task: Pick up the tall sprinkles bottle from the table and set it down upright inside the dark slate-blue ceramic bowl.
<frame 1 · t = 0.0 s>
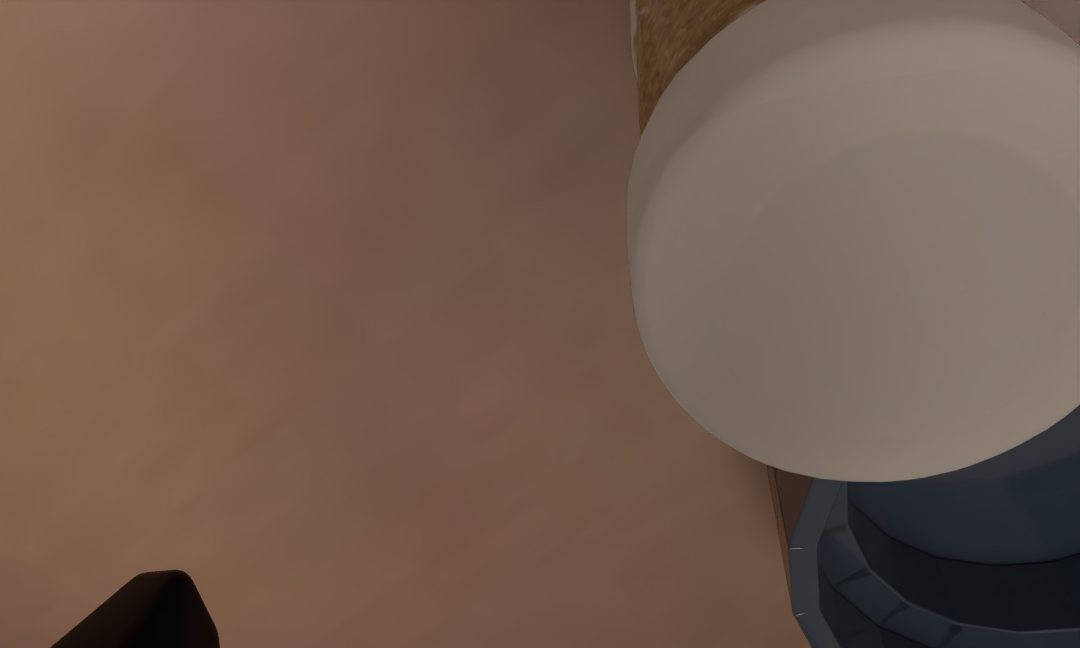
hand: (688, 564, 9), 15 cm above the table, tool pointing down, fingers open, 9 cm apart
bowl: (1026, 406, 25), on the table
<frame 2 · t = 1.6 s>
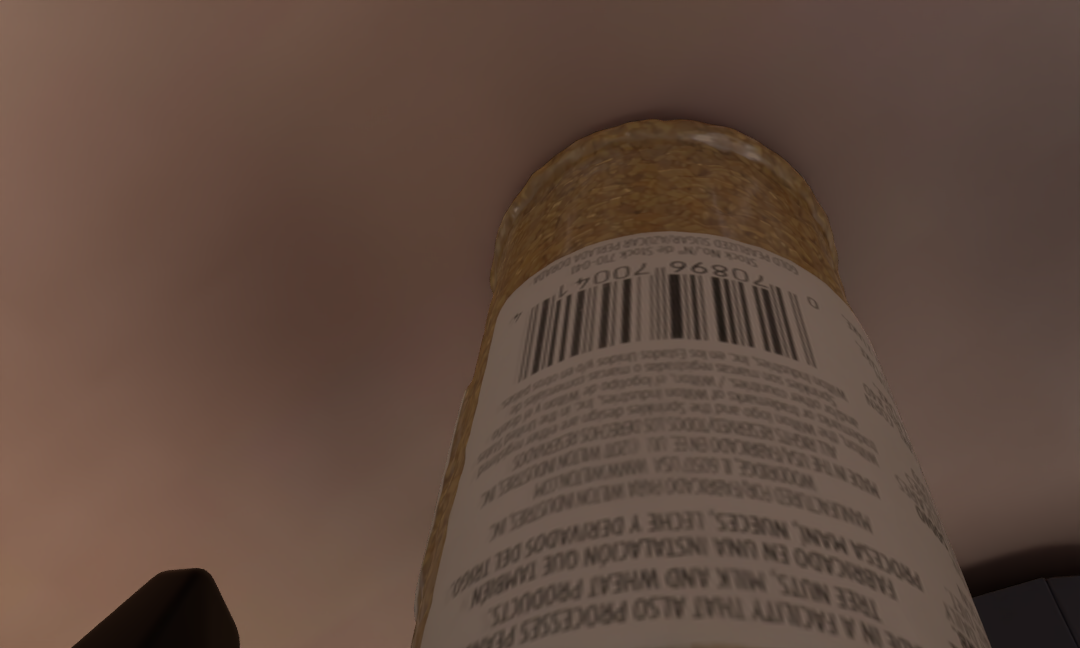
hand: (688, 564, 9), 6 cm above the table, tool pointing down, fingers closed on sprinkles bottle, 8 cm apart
sprinkles bottle: (664, 261, 14), on the table, touching gripper
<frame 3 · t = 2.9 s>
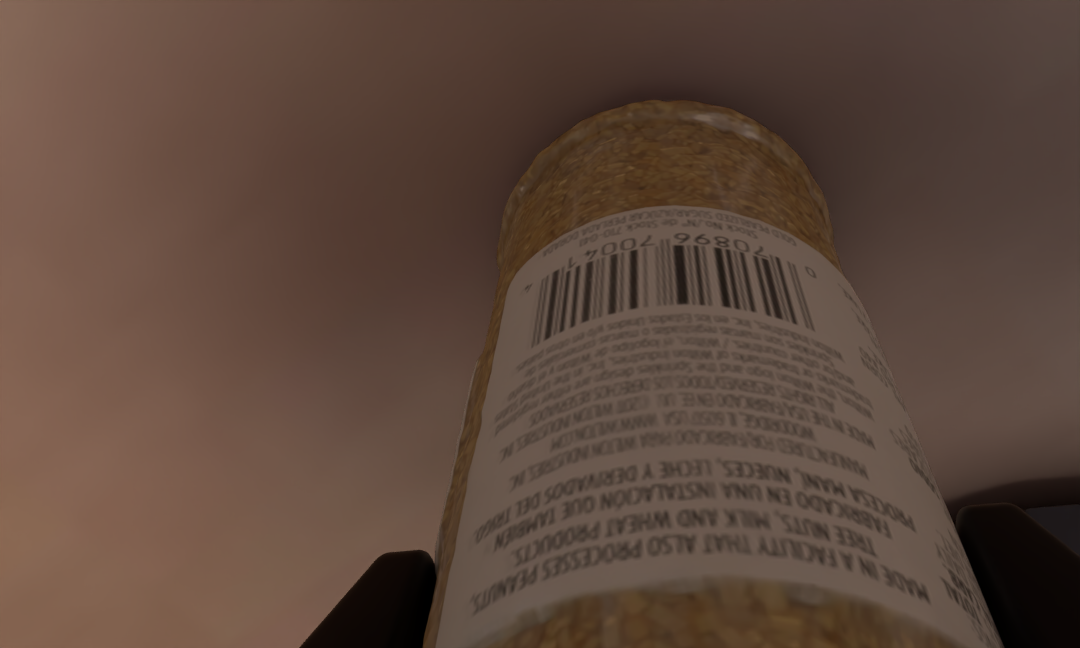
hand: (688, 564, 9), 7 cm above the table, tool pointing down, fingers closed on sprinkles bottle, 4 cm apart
sprinkles bottle: (665, 239, 14), on the table, touching gripper
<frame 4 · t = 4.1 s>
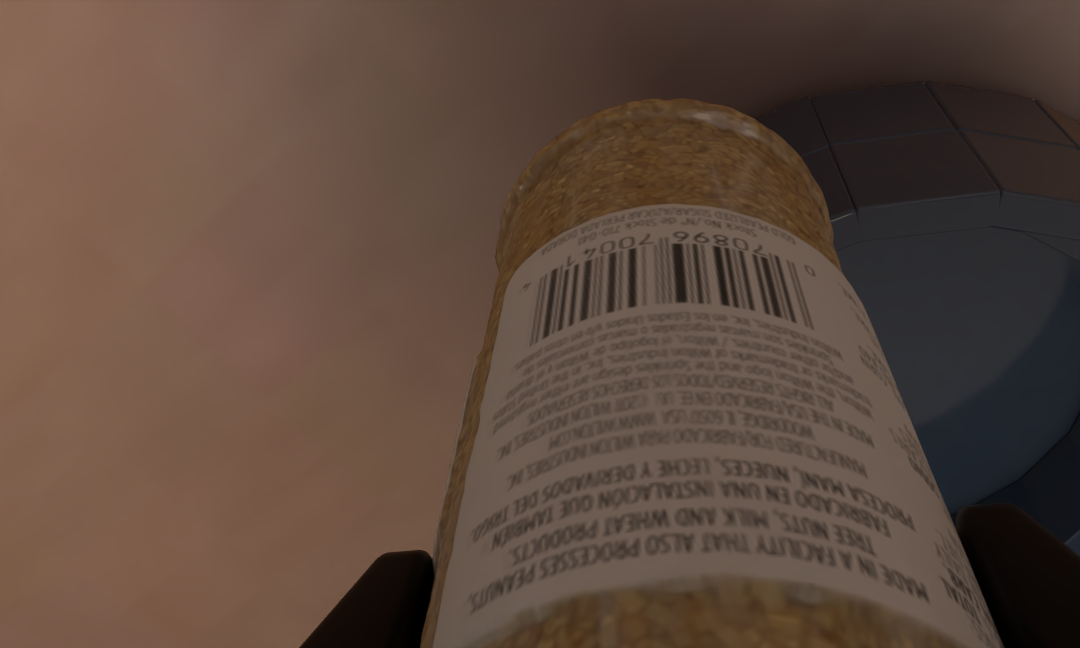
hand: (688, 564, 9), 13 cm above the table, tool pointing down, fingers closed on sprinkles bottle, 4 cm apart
sprinkles bottle: (664, 237, 14), point 6 cm above the table, touching gripper
bowl: (860, 355, 22), on the table
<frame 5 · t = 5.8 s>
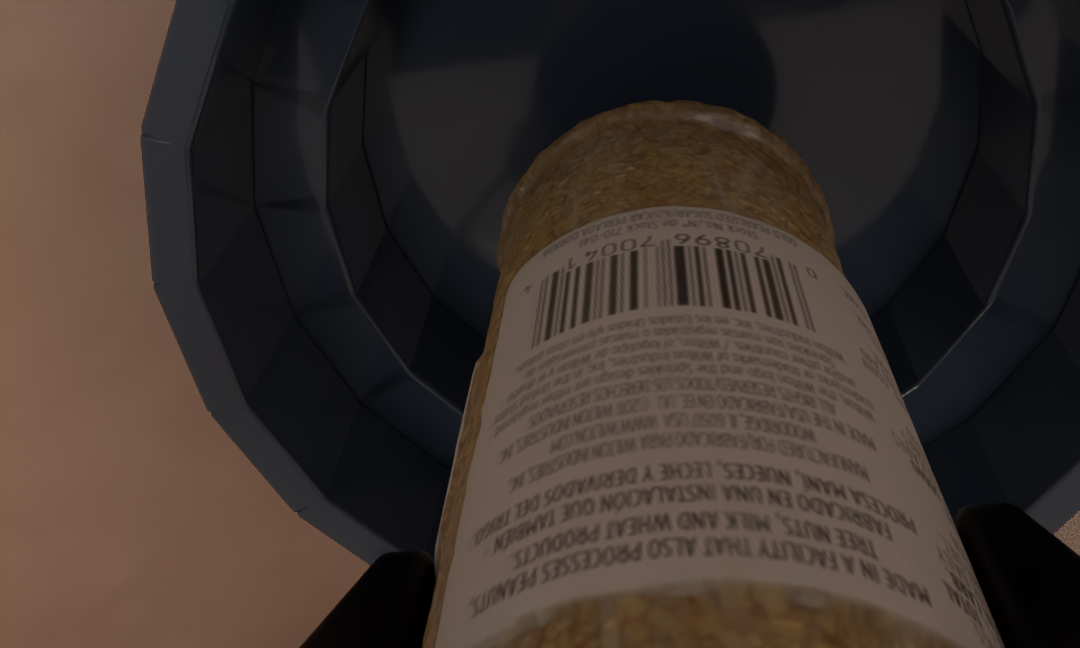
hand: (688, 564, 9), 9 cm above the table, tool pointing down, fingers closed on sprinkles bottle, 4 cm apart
sprinkles bottle: (665, 239, 14), point 3 cm above the table, touching gripper
bowl: (662, 130, 17), on the table
when the fingers open (7 cm above the table, at t = 6.9 s): sprinkles bottle stays where it is, resting on bowl.
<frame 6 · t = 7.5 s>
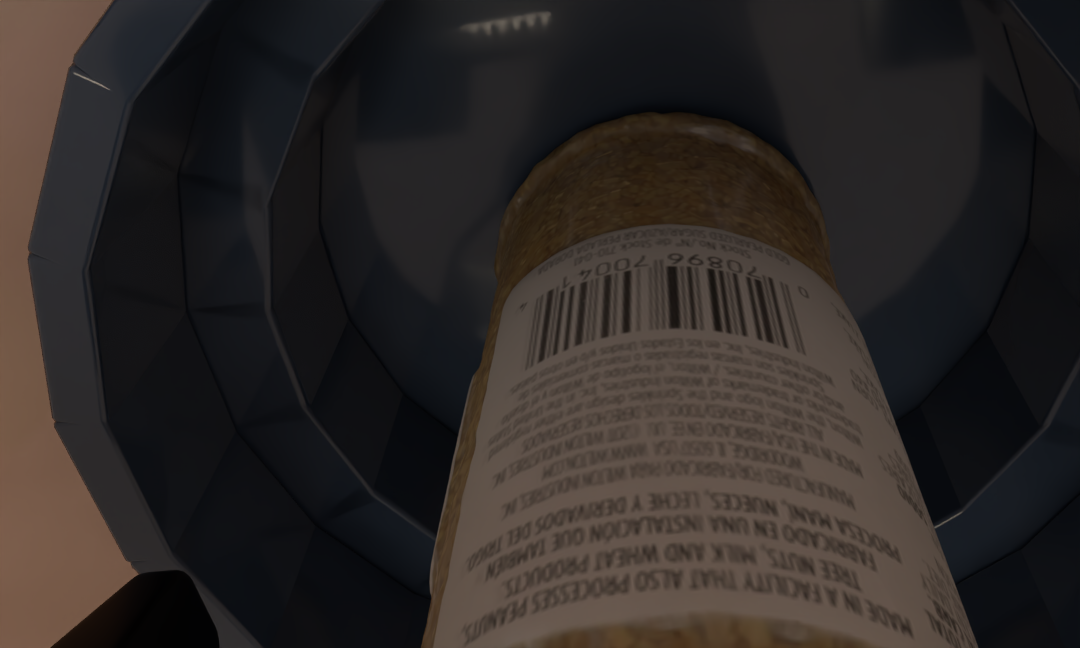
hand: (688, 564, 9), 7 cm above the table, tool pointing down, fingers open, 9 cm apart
sprinkles bottle: (662, 248, 14), resting on bowl
bowl: (663, 211, 14), on the table
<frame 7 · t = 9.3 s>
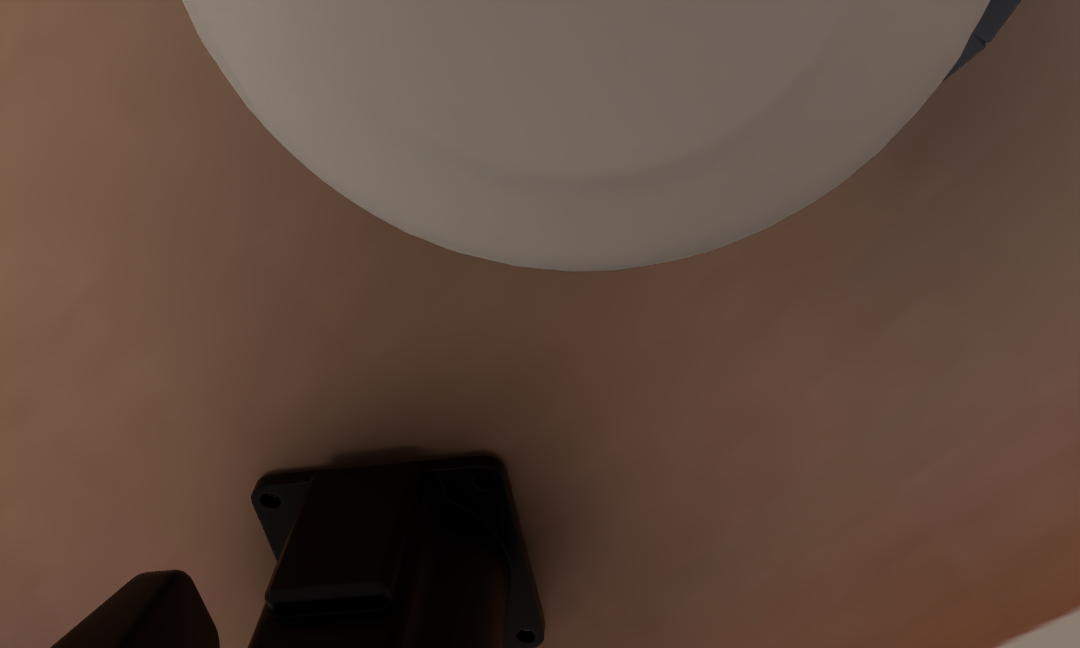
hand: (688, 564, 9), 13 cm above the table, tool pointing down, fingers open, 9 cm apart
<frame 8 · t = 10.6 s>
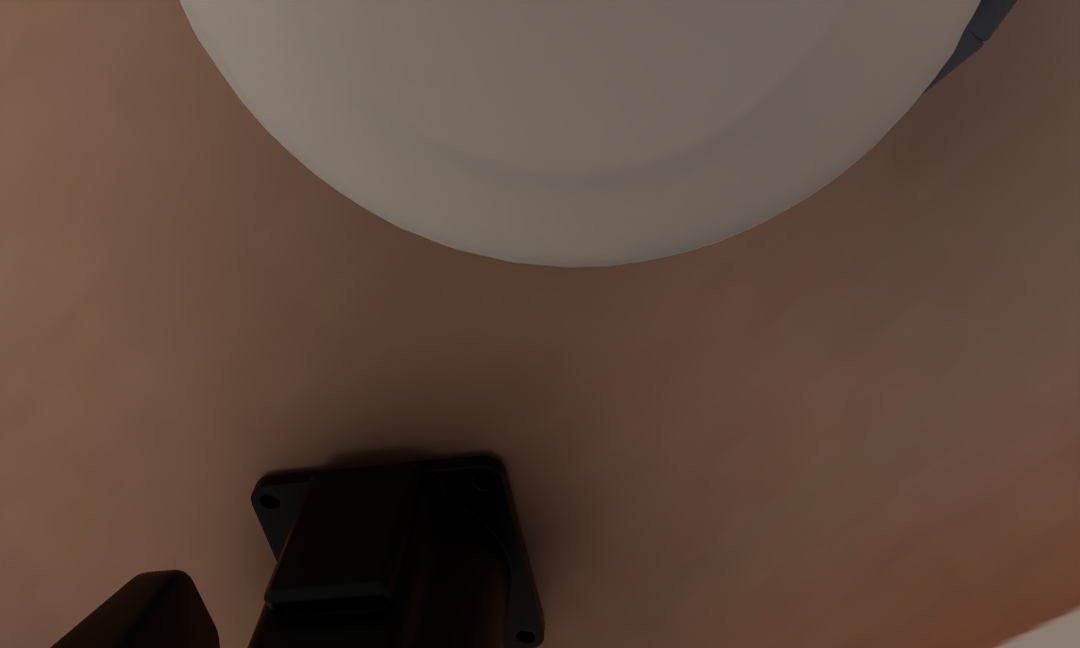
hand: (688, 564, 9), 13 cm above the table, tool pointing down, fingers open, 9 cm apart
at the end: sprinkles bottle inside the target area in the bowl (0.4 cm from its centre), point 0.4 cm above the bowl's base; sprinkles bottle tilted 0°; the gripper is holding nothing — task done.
